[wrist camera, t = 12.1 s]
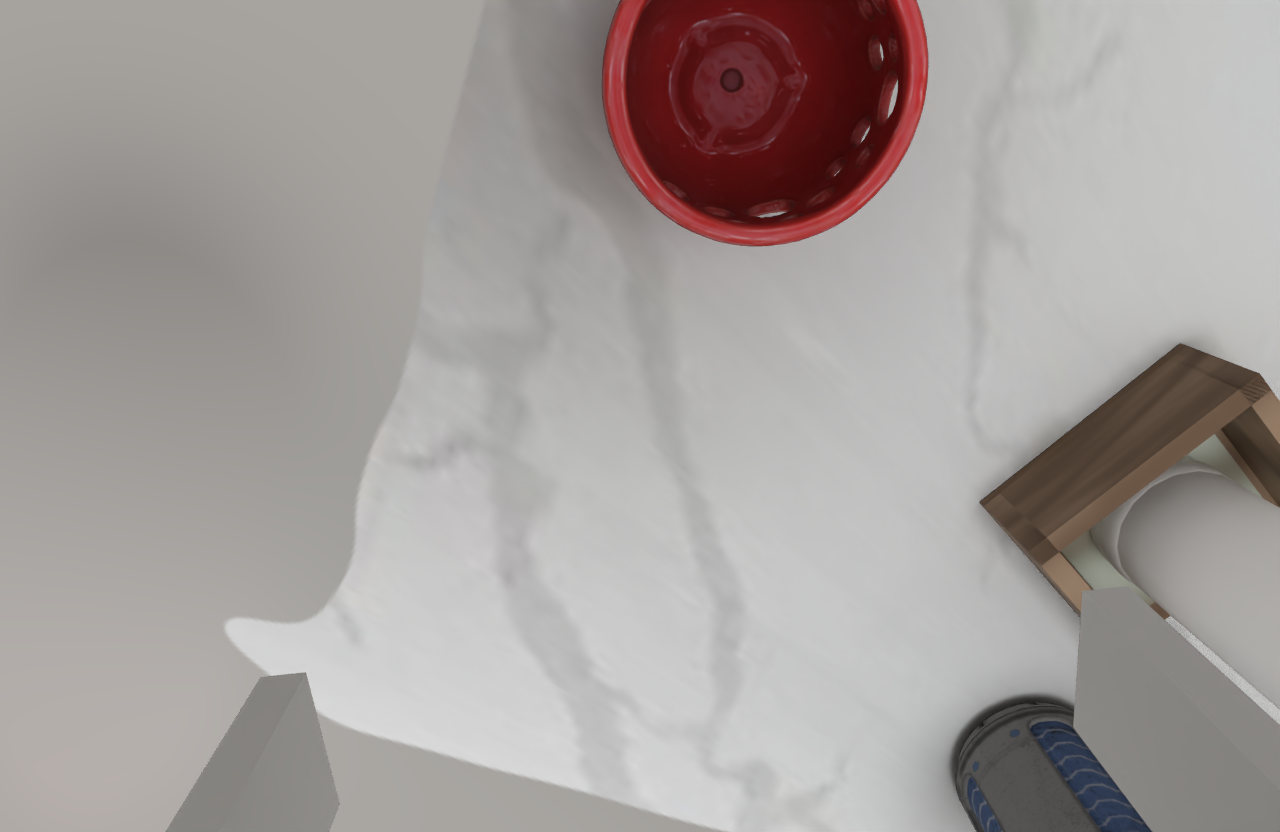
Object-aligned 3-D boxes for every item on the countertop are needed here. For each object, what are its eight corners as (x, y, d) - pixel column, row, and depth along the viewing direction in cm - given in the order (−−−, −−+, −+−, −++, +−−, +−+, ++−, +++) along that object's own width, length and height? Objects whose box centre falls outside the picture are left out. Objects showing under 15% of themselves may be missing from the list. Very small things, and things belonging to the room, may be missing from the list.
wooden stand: (979, 502, 54) (1028, 551, 48) (1180, 343, 52) (1259, 373, 46) (1109, 650, 58) (1170, 714, 52) (1303, 509, 55) (1392, 558, 49)
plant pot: (572, -9, 45) (561, -54, 34) (829, -80, 44) (907, -150, 33) (637, 246, 49) (646, 283, 38) (873, 184, 48) (956, 203, 37)
